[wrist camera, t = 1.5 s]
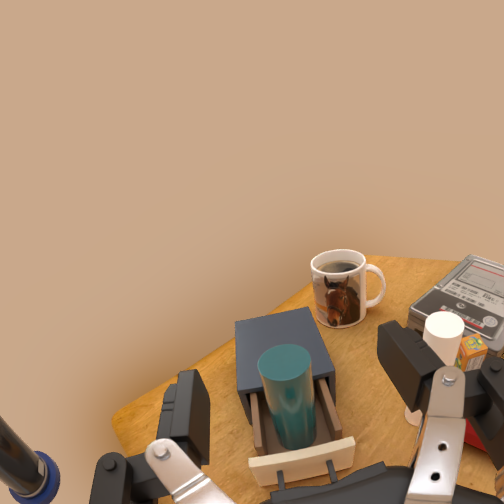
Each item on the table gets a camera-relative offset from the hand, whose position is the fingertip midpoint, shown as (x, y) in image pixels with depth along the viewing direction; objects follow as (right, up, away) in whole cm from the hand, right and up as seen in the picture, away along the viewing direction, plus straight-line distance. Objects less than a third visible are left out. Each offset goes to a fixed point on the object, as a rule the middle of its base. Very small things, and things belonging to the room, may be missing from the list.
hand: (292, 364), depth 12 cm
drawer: (+4, -18, +17) cm, 25 cm away
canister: (+4, -17, +18) cm, 25 cm away
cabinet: (+3, -14, +29) cm, 33 cm away
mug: (+16, -7, +41) cm, 45 cm away
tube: (+20, -16, +17) cm, 31 cm away
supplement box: (+26, -15, +17) cm, 34 cm away
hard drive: (+40, -7, +30) cm, 51 cm away
